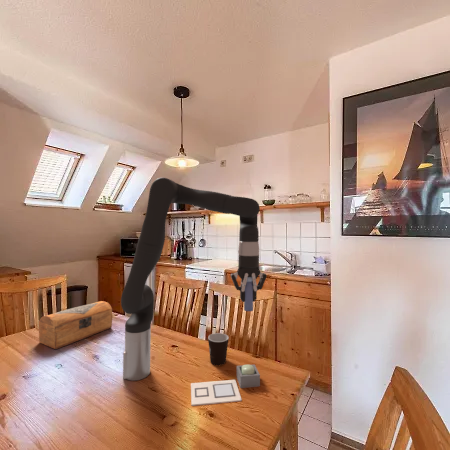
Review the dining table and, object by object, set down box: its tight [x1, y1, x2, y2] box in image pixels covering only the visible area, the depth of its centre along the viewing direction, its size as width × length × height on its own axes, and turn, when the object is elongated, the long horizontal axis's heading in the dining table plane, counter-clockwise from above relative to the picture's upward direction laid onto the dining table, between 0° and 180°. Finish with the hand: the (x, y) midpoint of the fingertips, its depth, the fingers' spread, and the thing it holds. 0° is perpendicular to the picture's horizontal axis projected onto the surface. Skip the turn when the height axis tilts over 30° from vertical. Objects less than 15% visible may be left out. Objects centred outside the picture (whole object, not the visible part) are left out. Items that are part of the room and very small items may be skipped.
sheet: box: [190, 379, 242, 407], centre depth 86 cm, size 16×11×1 cm
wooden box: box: [38, 300, 113, 350], centre depth 131 cm, size 30×16×14 cm, turn 150°
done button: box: [242, 364, 254, 375], centre depth 92 cm, size 5×5×4 cm
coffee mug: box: [207, 332, 229, 367], centre depth 107 cm, size 12×9×10 cm
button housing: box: [236, 364, 261, 389], centre depth 92 cm, size 7×7×4 cm
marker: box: [243, 277, 254, 312], centre depth 92 cm, size 3×3×12 cm
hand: (248, 301), depth 93 cm, fingers closed on marker, 3 cm apart
